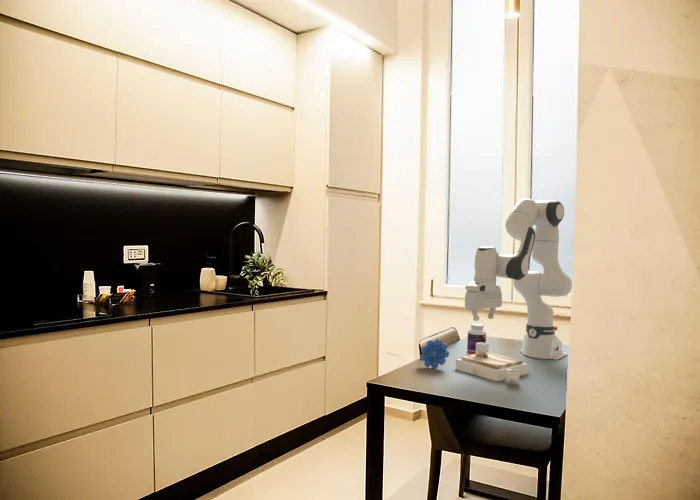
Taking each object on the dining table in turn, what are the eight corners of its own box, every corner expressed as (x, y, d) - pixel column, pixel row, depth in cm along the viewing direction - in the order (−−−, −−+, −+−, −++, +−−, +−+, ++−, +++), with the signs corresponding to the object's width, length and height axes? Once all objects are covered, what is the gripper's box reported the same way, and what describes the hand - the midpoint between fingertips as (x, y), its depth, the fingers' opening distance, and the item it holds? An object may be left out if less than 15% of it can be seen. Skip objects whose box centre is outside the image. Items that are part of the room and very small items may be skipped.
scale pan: (487, 354, 218) (487, 351, 218) (522, 363, 205) (522, 360, 205) (461, 359, 208) (461, 356, 208) (496, 369, 194) (496, 366, 194)
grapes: (449, 367, 210) (451, 338, 210) (447, 371, 204) (448, 341, 204) (421, 364, 214) (423, 335, 214) (418, 367, 208) (419, 338, 207)
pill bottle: (485, 359, 227) (487, 326, 227) (467, 357, 229) (468, 325, 228) (484, 355, 235) (486, 323, 235) (466, 353, 237) (468, 322, 236)
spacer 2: (510, 381, 193) (510, 368, 193) (521, 384, 189) (522, 371, 189) (502, 383, 190) (502, 369, 190) (513, 386, 186) (514, 373, 186)
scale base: (486, 362, 220) (486, 353, 220) (527, 373, 205) (528, 363, 205) (454, 369, 208) (455, 359, 208) (496, 381, 192) (496, 371, 192)
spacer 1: (480, 354, 214) (481, 341, 214) (490, 356, 210) (491, 344, 210) (472, 355, 211) (473, 343, 210) (482, 358, 207) (483, 345, 207)
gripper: (493, 283, 218) (492, 316, 219) (462, 286, 205) (461, 320, 206) (506, 285, 213) (505, 318, 214) (475, 287, 200) (474, 322, 201)
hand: (483, 319), depth 210 cm, fingers open, 8 cm apart
